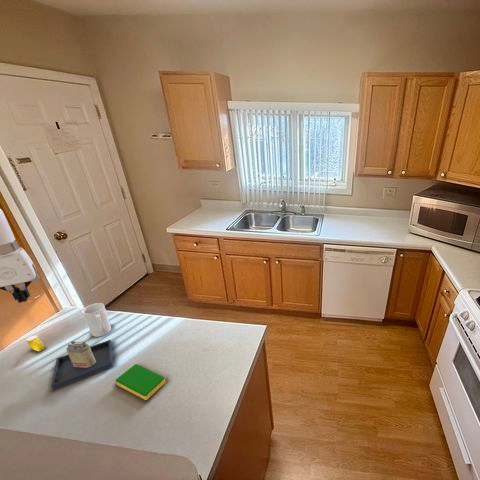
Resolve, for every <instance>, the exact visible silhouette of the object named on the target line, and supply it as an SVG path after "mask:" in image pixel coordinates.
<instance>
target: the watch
mask: <svg viewBox="0 0 480 480" xmlns="http://www.w3.org/2000/svg"><path fill="white" fill-rule="evenodd" d="M26 342H27V344H28V346H29V347H30V348H31V349H32V350H33V351H36V352H41V351H43V350H44V349H45V345H44V343H43V342H42V341H41V340H40V339H39V336H38V335H37V334H33V335H31V336H29V337H27V338H26Z"/></svg>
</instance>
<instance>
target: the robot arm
mask: <svg viewBox="0 0 480 480" xmlns="http://www.w3.org/2000/svg"><path fill="white" fill-rule="evenodd" d="M40 280H41V276H40V274H38V269H37V267H36V265H35V263H34V262H33V260H32V259H31V257H30V256H29V254H28V253H27V251H26V250H25V249H24V248H23V247H20V246H19V244H18V242H17V240H16V237H15V235H14V233H13V230H12V228H11V225H10V224H9V221H8V219H7V216H6V215H5V213H4V211H3V209H2V208H0V291H1V290H2V291H6V292H7V293H9V294H11V295H12V298H13V299H14V300H15V301H17V302H18V304H21V303H23V302H24V303H26V302H28V299H29V298H30V297H31V294H30V292H29V289H28V287H29V286H30V285H31V284H32V283H35V282H38V281H40ZM17 285H18V286H17Z"/></svg>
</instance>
